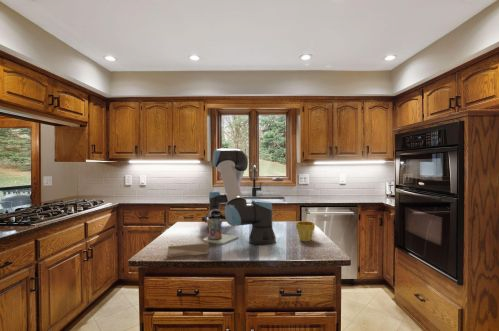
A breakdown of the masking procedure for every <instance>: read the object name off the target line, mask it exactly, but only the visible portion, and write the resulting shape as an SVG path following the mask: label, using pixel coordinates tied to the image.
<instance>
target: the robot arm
mask: <svg viewBox="0 0 499 331" xmlns="http://www.w3.org/2000/svg"><path fill="white" fill-rule="evenodd" d="M248 166H249V160H248V157H247V155H246V153H245V152H244V151H243V150H241V149H238V148H216V149H214V150H213V154H212V167H214V168H216V170H217V171H218V172H219V173H220V176H221V180H222V183H223V187H224V191H225V193H223V192H220V191H219V190H211V191H209V193H208V194H209V195H208V196H209V197H208V198H209V199H208V200H209V202H208V204H209V206H208V207H209V208H208V209H209V210H208V214H206V215H204V216H203V217H201V221H202V222H204V223H207V220H209V219H222V220H226V222H227V224H228V225H229V226H231V227H239V226H248V225H251V231H250V234H249V238H248V239H249V241H248V242H249V243H250V244H252V245H256V246H257V245H259V246H260V245H261V246H267V245H273V244H275V243H276V241H277V239H276V237H277V236H276V233H275V231H274V227H273V210H274V209H273V204H272V203H271V202H270V201H267V200H258V199H257V200H256V199H252V200H251V202H250V203H249V202H247V199H246V198H245V197H243V194H242V192H241V188H240V187H241V183H242V180H243V177H244V175H245V171H247V170H248ZM221 204H225V206H224V214H223V213H222V212H221V211H220V210H221V209H220V208H221V207H220V206H221ZM207 225H208V223H207Z"/></svg>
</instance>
